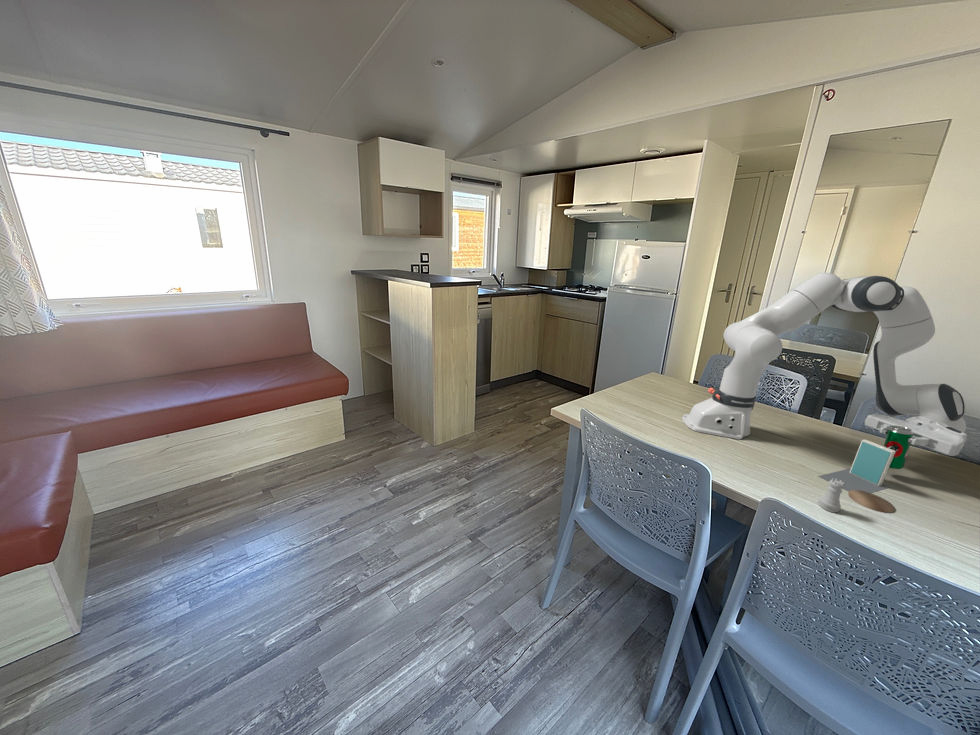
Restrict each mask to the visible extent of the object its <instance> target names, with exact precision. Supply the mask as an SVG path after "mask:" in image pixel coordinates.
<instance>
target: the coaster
mask: <svg viewBox="0 0 980 735" xmlns="http://www.w3.org/2000/svg"><path fill="white" fill-rule="evenodd" d="M847 495H848V497H849V498H850V499H851V500H852V501H853V502H855V503H857V504H859V505H860V506H862V507H865V508H866V509H867V508H868V509H869V510H872V511H876V512H880V513H885V514H890V513H892V514H893V513H894V512H895V511H896V508H895V506H894V504H892V503H891V502H890V501H889V500H887V499H885V498H884V497H881V496H879V495H876V494H874V493H868V492H864V491H859V490H851V491H849V492H847Z"/></svg>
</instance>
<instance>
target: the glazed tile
mask: <svg viewBox="0 0 980 735" xmlns="http://www.w3.org/2000/svg"><path fill="white" fill-rule="evenodd" d="M895 452H896V451H894V450H891V449H889V448H886V447H884V445H881V444H877V443H875V442H872V441H871V440H868V439H862V440H861V442H860V445H859V447H858V449H857V451H856V454H855V456H854V460H853V462H852V465H851V466H850V468H849V469H850V472H849V473H851V474H854V475H856V476H858V477H860V478H862V479H864V480H867V481H869V482H871V483H873V484H875V485H877V486H880V485H882V484H884V483H883V482H884V480H885V478H886V476H887V473H888V471H889V469H890V468H889V466H890V464H891V461H892V459H893V457H894V454H895Z"/></svg>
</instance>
